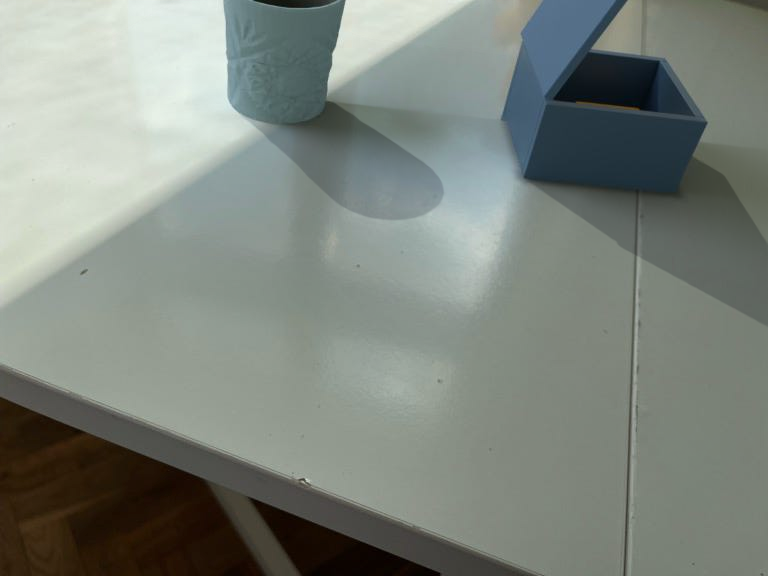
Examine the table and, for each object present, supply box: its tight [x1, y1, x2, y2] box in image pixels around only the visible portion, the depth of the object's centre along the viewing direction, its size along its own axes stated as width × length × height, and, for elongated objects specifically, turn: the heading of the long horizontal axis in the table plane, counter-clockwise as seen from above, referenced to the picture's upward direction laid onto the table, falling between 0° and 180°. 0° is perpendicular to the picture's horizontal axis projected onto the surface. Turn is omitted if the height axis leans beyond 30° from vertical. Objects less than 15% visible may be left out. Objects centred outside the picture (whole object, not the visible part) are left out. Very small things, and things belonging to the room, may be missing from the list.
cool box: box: [500, 40, 709, 194], centre depth 70 cm, size 14×12×8 cm
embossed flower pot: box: [222, 0, 347, 125], centre depth 67 cm, size 10×10×12 cm
